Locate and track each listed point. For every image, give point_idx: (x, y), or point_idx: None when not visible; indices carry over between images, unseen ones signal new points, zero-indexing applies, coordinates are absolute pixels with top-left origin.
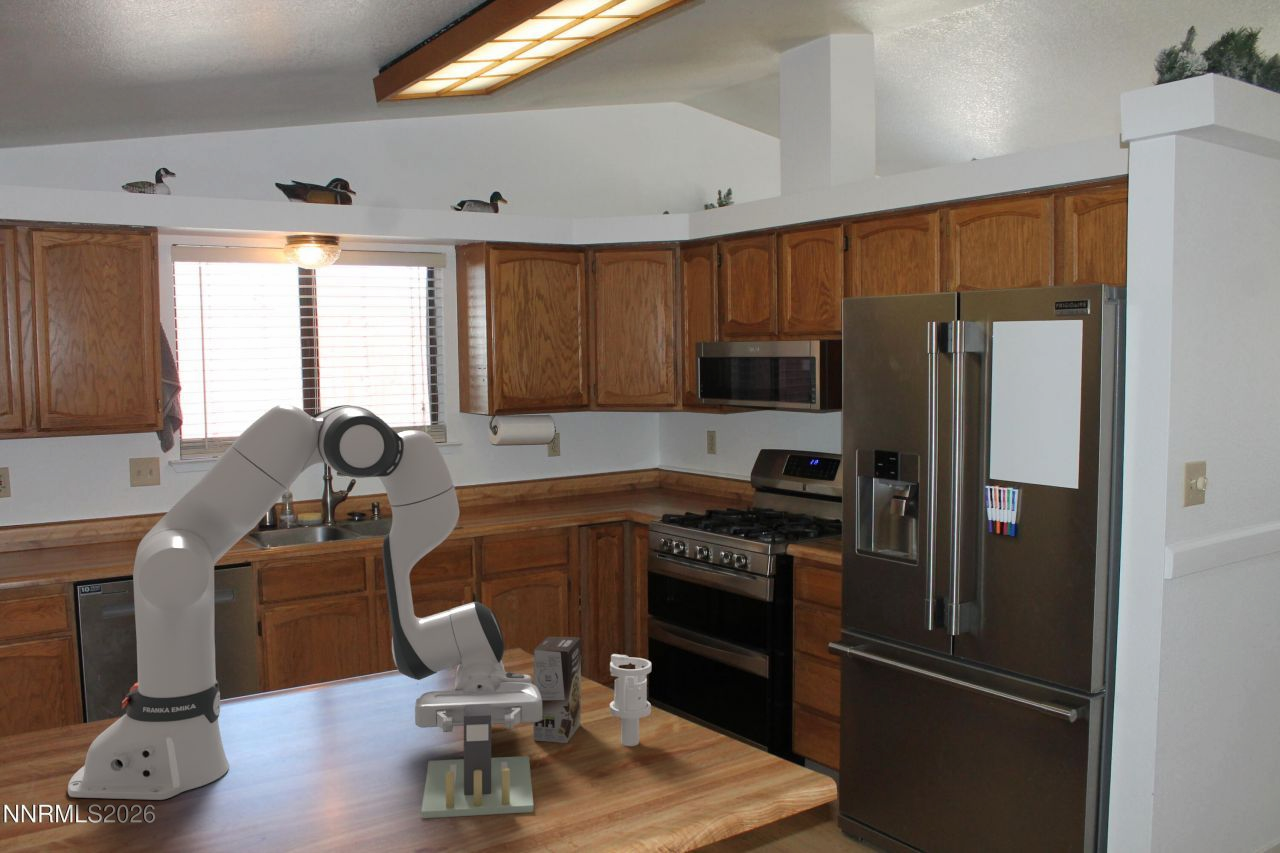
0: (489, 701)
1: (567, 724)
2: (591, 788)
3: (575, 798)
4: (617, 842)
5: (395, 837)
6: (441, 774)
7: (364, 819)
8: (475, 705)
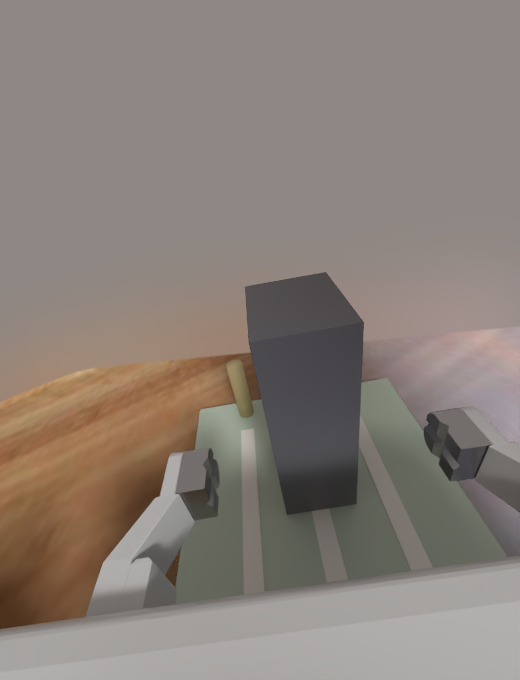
0: (296, 640)
1: None
2: (62, 516)
3: (117, 468)
4: (121, 365)
5: (395, 346)
6: (453, 553)
7: (487, 377)
8: (312, 322)
